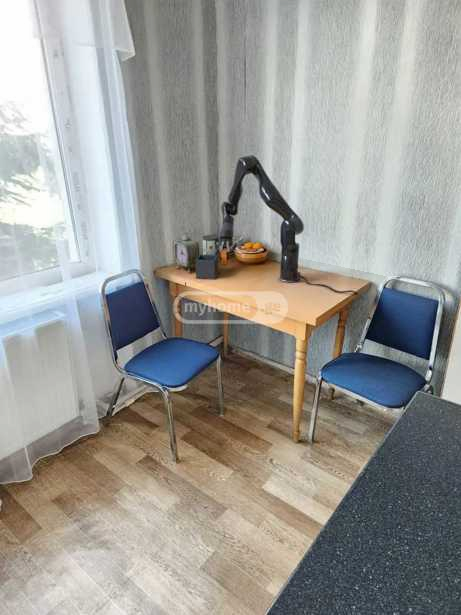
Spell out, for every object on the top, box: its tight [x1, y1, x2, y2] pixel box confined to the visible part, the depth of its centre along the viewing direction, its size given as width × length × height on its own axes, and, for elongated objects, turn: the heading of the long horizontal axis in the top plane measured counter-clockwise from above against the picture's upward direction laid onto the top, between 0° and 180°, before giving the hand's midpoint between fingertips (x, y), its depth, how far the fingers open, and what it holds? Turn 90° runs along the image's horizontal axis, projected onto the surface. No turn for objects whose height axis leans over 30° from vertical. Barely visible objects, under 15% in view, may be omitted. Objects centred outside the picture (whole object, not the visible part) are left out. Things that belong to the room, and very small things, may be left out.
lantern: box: [201, 234, 220, 261], centre depth 246 cm, size 10×10×14 cm
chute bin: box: [195, 254, 219, 280], centre depth 218 cm, size 10×10×11 cm
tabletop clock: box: [172, 226, 200, 274], centre depth 225 cm, size 14×9×25 cm, turn 43°
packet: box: [220, 249, 229, 267], centre depth 225 cm, size 3×5×8 cm, turn 171°
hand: (223, 258), depth 223 cm, fingers closed on packet, 3 cm apart
